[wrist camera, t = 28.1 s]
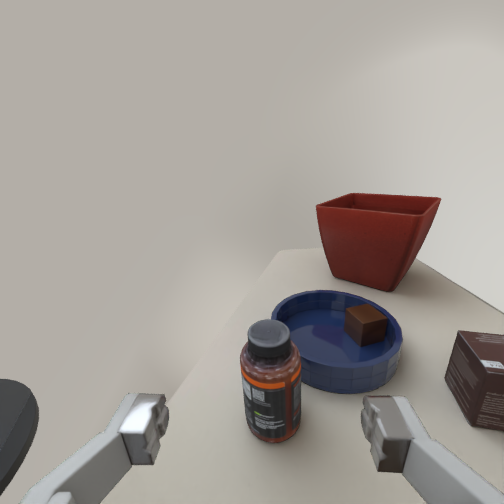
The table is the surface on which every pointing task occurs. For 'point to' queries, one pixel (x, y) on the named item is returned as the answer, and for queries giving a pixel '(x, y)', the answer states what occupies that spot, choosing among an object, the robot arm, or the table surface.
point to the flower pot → (374, 235)
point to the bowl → (337, 342)
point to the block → (365, 324)
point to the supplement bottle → (271, 381)
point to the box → (478, 378)
